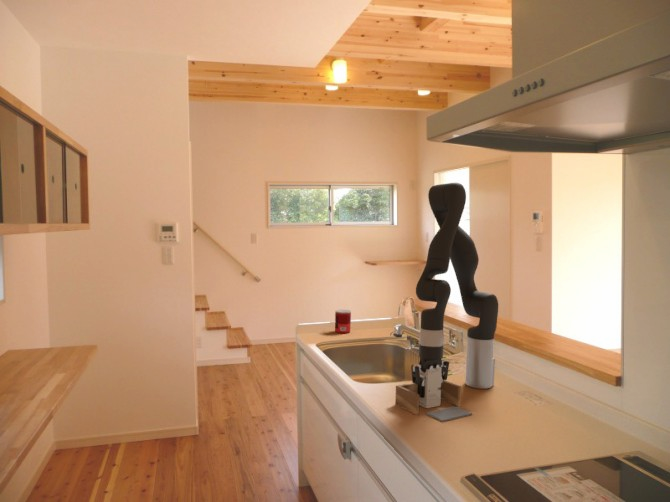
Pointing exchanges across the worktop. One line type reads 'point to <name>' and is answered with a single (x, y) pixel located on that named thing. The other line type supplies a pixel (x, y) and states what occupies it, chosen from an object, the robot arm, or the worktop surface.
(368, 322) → the worktop surface
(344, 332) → the canned food
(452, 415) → the grey mat
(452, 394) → the brown wooden u-shaped piece
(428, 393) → the skincare box
